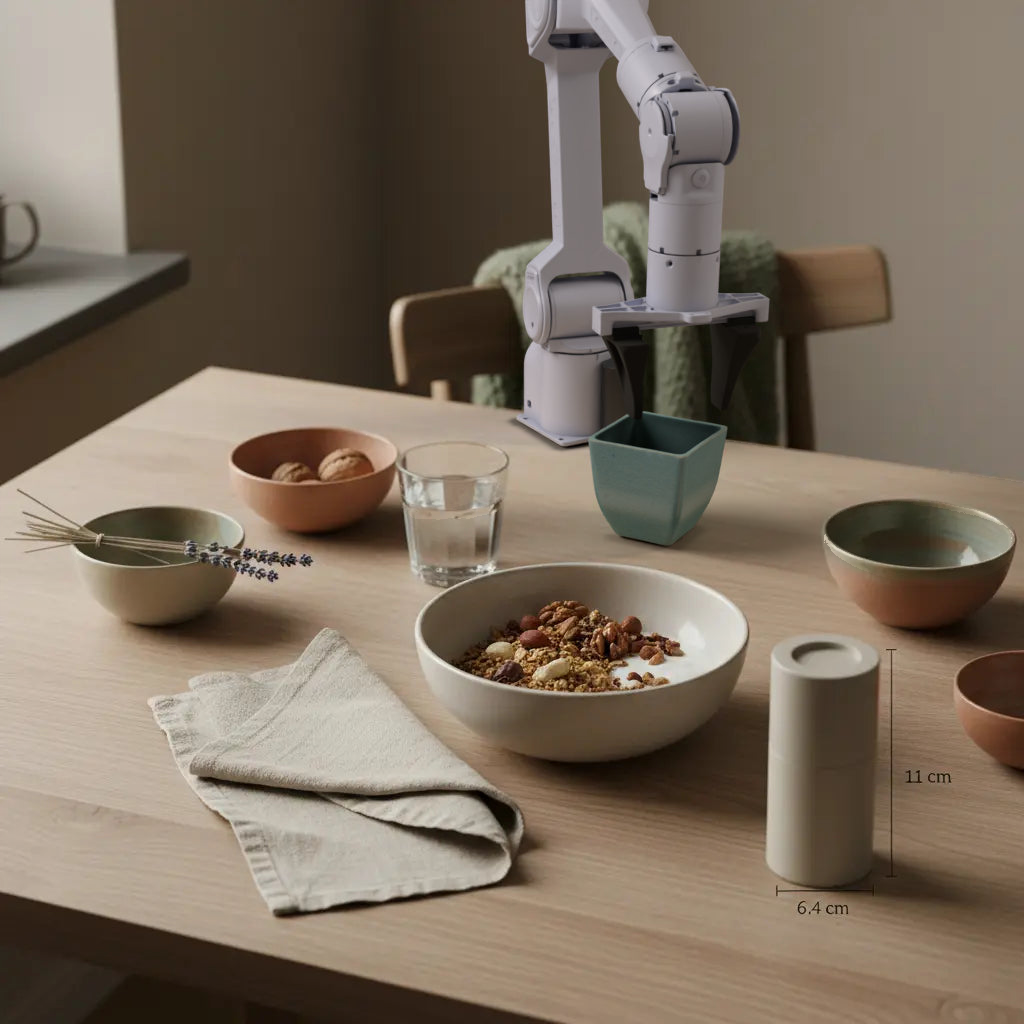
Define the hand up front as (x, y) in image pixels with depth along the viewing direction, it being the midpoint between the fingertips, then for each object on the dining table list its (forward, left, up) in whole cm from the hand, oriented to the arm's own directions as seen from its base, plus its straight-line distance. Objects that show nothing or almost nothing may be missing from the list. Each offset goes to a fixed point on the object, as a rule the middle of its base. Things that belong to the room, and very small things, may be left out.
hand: (677, 411), depth 124 cm
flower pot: (+1, -2, -10) cm, 11 cm away
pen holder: (-19, +7, -10) cm, 23 cm away
